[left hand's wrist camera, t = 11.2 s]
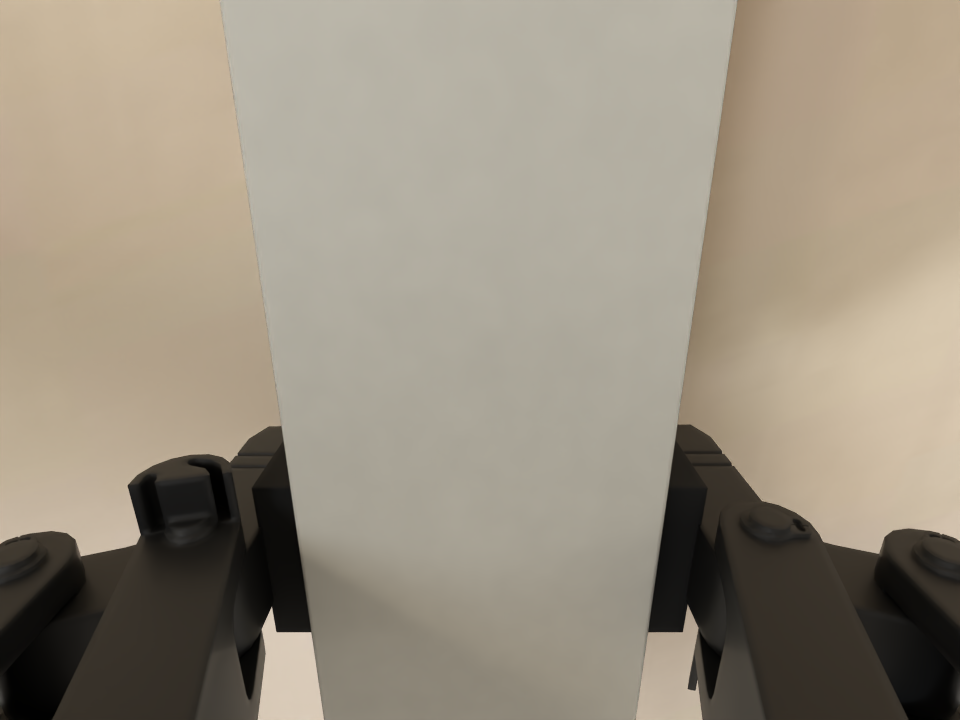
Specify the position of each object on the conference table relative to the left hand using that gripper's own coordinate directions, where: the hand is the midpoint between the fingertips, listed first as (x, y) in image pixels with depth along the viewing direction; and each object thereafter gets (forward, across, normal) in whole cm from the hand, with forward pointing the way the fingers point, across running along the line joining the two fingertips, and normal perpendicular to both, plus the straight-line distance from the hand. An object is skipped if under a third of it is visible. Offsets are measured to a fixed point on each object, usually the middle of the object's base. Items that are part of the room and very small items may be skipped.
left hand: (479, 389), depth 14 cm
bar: (+1, 0, -25) cm, 25 cm away
